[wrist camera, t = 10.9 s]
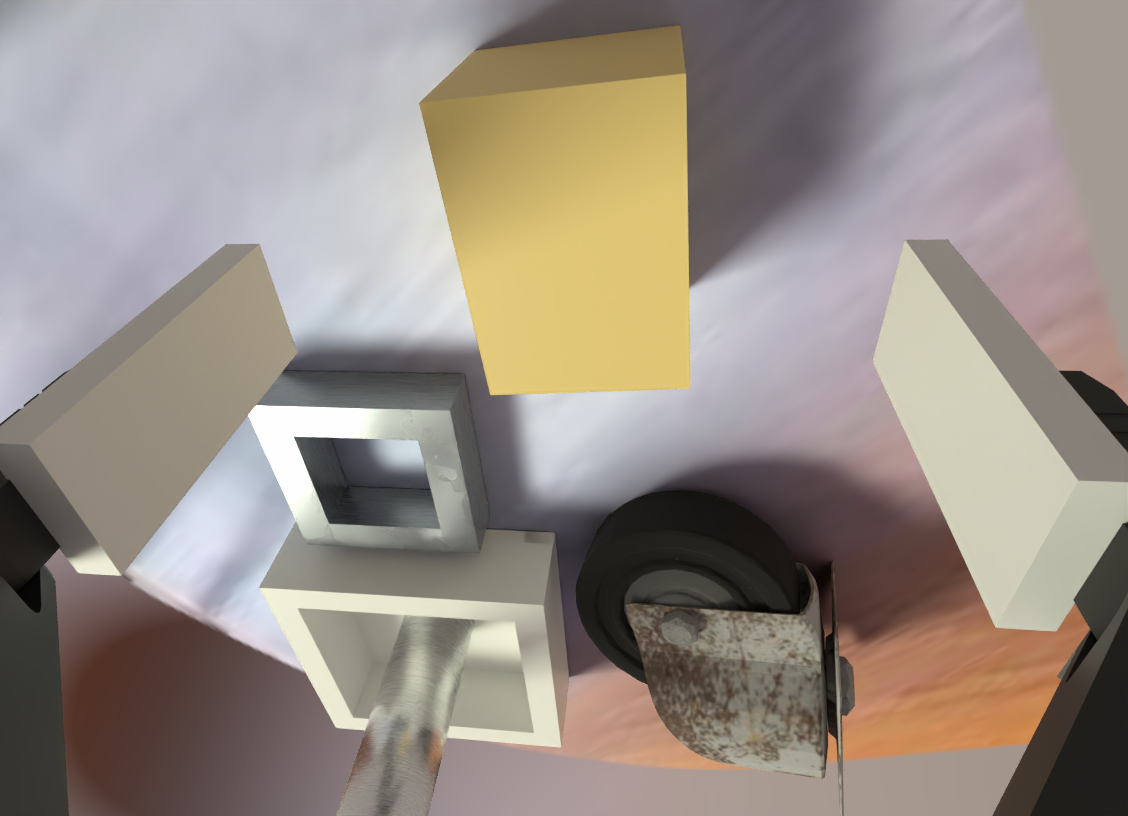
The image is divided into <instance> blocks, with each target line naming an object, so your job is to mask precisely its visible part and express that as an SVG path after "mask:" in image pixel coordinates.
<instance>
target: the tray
mask: <svg viewBox="0 0 1128 816" xmlns="http://www.w3.org/2000/svg"><path fill="white" fill-rule="evenodd" d="M259 589H260V591H261V592H262V594H263V596H264V598H265V600H266V601H267V603H268V605H269V607H270V609H271V611H272V612H273V614H274V616H275V618H276V620H277V621H278V623H279V625H280V627H281V629H282V630H283V632H284V634H285V636H286V638H287V640H288V641H289V643H290V645H291V647H292V649H293V650H294V652H295V654H296V656H297V658H298V659H299V661H300V663H301V665H302V667H303V669H304V670H305V672H306V674H307V676H308V678H309V679H310V681H311V683H312V685H313V687H314V688H315V690H316V692H317V694H318V696H319V697H320V699H321V701H322V703H323V705H324V706H325V708H326V710H327V712H328V714H329V715H330V717H331V719H332V721H333V723H334V725H335V726H336V728H345V729H357V730H365V729H366V726H367V723H368V720H369V717H370V714H371V712H372V709H373V706H374V703H375V700H376V697H377V694H378V691H379V688H380V685H381V682H382V679H383V676H384V673H385V670H386V667H387V665H388V662H389V659H390V656H391V653H392V650H393V647H394V644H395V641H396V638H397V635H398V632H399V629H400V626H401V623H402V621H403V618H404V615H412V616H427V617H442V618H458V619H473V620H475V624H474V628H473V632H472V636H471V640H470V644H469V648H468V652H467V657H466V661H465V665H464V669H463V673H462V677H461V681H460V685H459V690H458V694H457V698H456V702H455V706H454V710H453V714H452V718H451V722H450V727H449V731H448V735H447V737H448V738H460V739H470V740H482V741H493V742H504V743H516V744H527V745H539V746H550V747H562V738H563V729H564V720H565V711H566V702H567V693H568V684H569V671H568V661H567V651H566V640H565V630H564V620H563V610H562V599H561V589H560V579H559V569H558V559H557V548H556V538H555V533H554V532H534V531H513V530H492V529H486V532H485V536H484V539H483V543H482V547H481V551H480V554H477V553H458V552H439V551H420V550H401V549H382V548H363V547H344V546H325V545H307V544H306V542H305V540H304V537H303V535H302V533H301V531H300V528H299V526H298V524H297V522H296V523H295V524H294V526H293V528H292V530H291V531H290V533H289V535H288V537H287V539H286V540H285V542H284V544H283V546H282V547H281V549H280V551H279V553H278V555H277V556H276V558H275V560H274V562H273V564H272V565H271V567H270V569H269V571H268V572H267V574H266V576H265V578H264V580H263V581H262V583H261V585H260V587H259Z"/></svg>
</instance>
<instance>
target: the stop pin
mask: <svg viewBox="0 0 1128 816" xmlns="http://www.w3.org/2000/svg"><path fill="white" fill-rule="evenodd" d="M474 624H475V620H473V619H458V618H442V617H427V616H412V615H404V618H403V621H402V623H401V626H400V629H399V632H398V635H397V638H396V641H395V644H394V647H393V650H392V653H391V656H390V659H389V662H388V665H387V667H386V670H385V673H384V676H383V679H382V682H381V685H380V688H379V691H378V694H377V697H376V700H375V703H374V706H373V709H372V712H371V714H370V717H369V720H368V723H367V726H366V729H365V732H364V735H363V738H362V741H361V744H360V747H359V750H358V753H357V756H356V758H355V762H354V764H353V767H352V770H351V773H350V776H349V779H348V782H347V785H346V788H345V791H344V794H343V797H342V800H341V803H340V806H339V808H338V812H337V814H336V816H428V813H429V809H430V805H431V801H432V796H433V793H434V788H435V784H436V780H437V776H438V772H439V768H440V764H441V759H442V755H443V751H444V747H445V743H446V739H447V735H448V731H449V727H450V722H451V718H452V714H453V710H454V706H455V702H456V698H457V694H458V690H459V685H460V681H461V677H462V673H463V669H464V665H465V661H466V657H467V652H468V648H469V644H470V640H471V636H472V632H473V628H474Z"/></svg>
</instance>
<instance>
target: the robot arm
mask: <svg viewBox="0 0 1128 816" xmlns="http://www.w3.org/2000/svg"><path fill="white" fill-rule="evenodd" d="M296 354H297V350H296V347H295V345H294V342H293V339H292V336H291V333H290V330H289V327H288V324H287V322H286V319H285V316H284V313H283V310H282V307H281V304H280V302H279V299H278V296H277V293H276V290H275V287H274V284H273V282H272V279H271V276H270V273H269V270H268V267H267V264H266V261H265V259H264V256H263V253H262V250H261V247H260V244H226V245H225V246H223V247H222V248H221V249H220V250H218V251H217V252H216V253H215V254H213V255H212V256H211V257H210V258H208V259H207V260H206V261H205V262H204V263H202V264H201V265H200V266H199V267H197V268H196V269H195V270H194V271H192V272H191V273H190V274H189V275H187V276H186V277H185V278H184V279H182V280H181V281H180V282H179V283H177V284H176V285H175V286H174V287H172V288H171V289H170V290H169V291H167V292H166V293H165V294H164V295H163V296H161V297H160V298H159V299H158V300H156V301H155V302H154V303H153V304H151V305H150V306H149V307H148V308H146V309H145V310H144V311H143V312H141V313H140V314H139V315H138V316H136V317H135V318H134V319H133V320H131V321H130V322H129V323H128V324H127V325H125V326H124V327H123V328H122V329H120V330H119V331H118V332H117V333H115V334H114V335H113V336H112V337H110V338H109V339H108V340H107V341H105V342H104V343H103V344H102V345H100V346H99V347H98V348H97V349H95V350H94V351H93V352H92V353H90V354H89V355H88V356H87V357H86V358H84V359H83V360H82V361H81V362H79V363H78V364H77V365H76V366H74V367H73V368H72V369H70V370H68V371H67V372H65V373H63V374H62V375H61V376H59V377H58V378H57V379H56V380H55V381H53V382H52V383H51V384H50V385H48V386H47V387H46V388H45V389H43V390H42V393H41V394H37V395H36V396H35V397H33V398H32V399H31V400H30V401H28V402H27V403H26V404H25V405H24V407H23V408H22V409H18V410H17V411H16V412H15V413H13V414H12V415H11V416H10V417H8V418H7V419H6V420H5V421H3V422H2V423H1V424H0V816H69V811H68V796H67V795H68V793H67V777H66V759H65V743H64V724H63V709H62V691H61V673H60V656H59V639H58V621H57V605H56V604H57V603H56V586H55V580H54V578H53V576H52V574H51V573H50V571H49V570H48V568H47V567H46V566H45V565H44V564H45V563H46V562H47V561H48V560H49V559H50V557H51V556H52V555H53V554H54V553H55V552H56V551H57V550H58V549H59V548H60V549H61V551H62V552H63V553H64V555H65V556H66V557H67V559H68V560H69V561H70V563H71V564H72V565H73V567H74V568H75V569H76V571H77V572H78V573H88V574H104V575H120V576H121V575H122V574H123V573H124V572H125V570H126V569H127V568H128V567H129V565H130V564H131V563H132V562H133V560H134V559H135V558H136V557H137V555H138V554H139V553H140V551H141V550H142V549H143V548H144V546H145V545H146V544H147V543H148V541H149V540H150V539H151V538H152V536H153V535H154V534H155V532H156V531H157V530H158V529H159V527H160V526H161V525H162V524H163V522H164V521H165V520H166V519H167V517H168V516H169V515H170V513H171V512H172V511H173V510H174V508H175V507H176V506H177V505H178V503H179V502H180V501H181V500H182V498H183V497H184V496H185V494H186V493H187V492H188V491H189V489H190V488H191V487H192V486H193V484H194V483H195V482H196V481H197V479H198V478H199V477H200V476H201V474H202V473H203V472H204V470H205V469H206V468H207V467H208V465H209V464H210V463H211V462H212V460H213V459H214V458H215V457H216V455H217V454H218V453H219V451H220V450H221V449H222V448H223V446H224V445H225V444H226V443H227V441H228V440H229V439H230V438H231V436H232V435H233V434H234V432H235V431H236V430H237V429H238V427H239V426H240V425H241V424H242V422H243V421H244V420H245V419H246V417H247V416H248V415H249V414H250V412H251V411H252V410H253V408H254V407H255V406H256V405H257V403H258V402H259V401H260V400H261V398H262V397H263V396H264V395H265V393H266V392H267V391H268V389H269V388H270V387H271V386H272V384H273V383H274V382H275V381H276V379H277V378H278V377H279V376H280V374H281V373H282V372H283V370H284V369H285V368H286V367H287V365H288V364H289V363H290V362H291V360H292V359H293V358H294V357H295V355H296ZM873 363H874V365H875V368H876V370H877V372H878V374H879V376H880V378H881V381H882V383H883V385H884V387H885V389H886V391H887V394H888V396H889V398H890V400H891V402H892V404H893V407H894V409H895V411H896V413H897V415H898V417H899V420H900V422H901V424H902V426H903V428H904V430H905V433H906V435H907V437H908V439H909V441H910V443H911V446H912V448H913V450H914V452H915V454H916V456H917V458H918V461H919V463H920V465H921V467H922V469H923V471H924V474H925V476H926V478H927V480H928V482H929V484H930V487H931V489H932V491H933V493H934V495H935V497H936V500H937V502H938V504H939V506H940V508H941V510H942V513H943V515H944V517H945V519H946V521H947V523H948V526H949V528H950V530H951V532H952V534H953V536H954V539H955V541H956V543H957V545H958V547H959V549H960V552H961V554H962V556H963V558H964V560H965V562H966V565H967V567H968V569H969V571H970V573H971V575H972V578H973V580H974V582H975V584H976V586H977V588H978V591H979V593H980V595H981V597H982V599H983V601H984V604H985V606H986V608H987V610H988V612H989V614H990V617H991V619H992V621H993V623H994V625H995V627H996V628H1009V629H1026V630H1042V631H1057V629H1058V628H1059V626H1060V625H1061V623H1062V622H1063V620H1064V619H1065V617H1066V616H1067V614H1068V613H1069V611H1070V610H1071V608H1072V606H1073V605H1074V603H1075V604H1076V605H1077V607H1078V609H1079V610H1080V612H1081V614H1082V616H1083V617H1084V619H1085V621H1086V622H1087V624H1088V626H1089V627H1090V630H1089V632H1088V633H1087V635H1086V636H1085V638H1084V639H1083V640H1082V642H1081V643H1080V645H1079V646H1078V647H1077V649H1076V650H1075V652H1074V653H1073V655H1072V656H1071V657H1070V659H1069V660H1068V662H1067V663H1066V664H1065V666H1064V667H1063V669H1062V670H1061V672H1060V673H1059V674H1058V676H1057V677H1059V678H1060V679H1062V680H1061V682H1060V684H1059V686H1058V688H1057V690H1056V692H1055V694H1054V696H1053V698H1052V700H1051V702H1050V704H1049V706H1048V708H1047V710H1046V712H1045V714H1044V715H1043V717H1042V719H1041V721H1040V723H1039V725H1038V727H1037V729H1036V731H1035V733H1034V735H1033V737H1032V739H1031V741H1030V743H1029V745H1028V747H1027V749H1026V751H1025V753H1024V755H1023V757H1022V759H1021V761H1020V763H1019V765H1018V767H1017V769H1016V770H1015V773H1014V775H1013V776H1012V779H1011V780H1010V782H1009V784H1008V786H1007V788H1006V790H1005V792H1004V794H1003V796H1002V798H1001V800H1000V802H999V804H998V806H997V808H996V810H995V812H994V814H993V816H1128V406H1127V405H1126V404H1125V403H1124V401H1123V400H1122V399H1121V398H1120V397H1119V396H1118V395H1117V394H1116V393H1115V392H1114V391H1113V390H1111V389H1110V388H1108V387H1107V386H1105V385H1103V384H1102V383H1100V382H1098V381H1097V380H1095V379H1093V378H1092V377H1090V376H1088V375H1087V374H1085V373H1084V372H1082V371H1058V370H1057V368H1056V367H1055V366H1054V365H1053V364H1052V362H1051V361H1050V360H1049V359H1048V358H1047V357H1046V355H1045V354H1044V353H1043V352H1042V351H1041V349H1040V348H1039V347H1038V346H1037V345H1036V344H1035V342H1034V341H1033V340H1032V339H1031V338H1030V336H1029V335H1028V334H1027V333H1026V332H1025V331H1024V329H1023V328H1022V327H1021V326H1020V325H1019V323H1018V322H1017V321H1016V320H1015V319H1014V317H1013V316H1012V315H1011V314H1010V313H1009V312H1008V310H1007V309H1006V308H1005V307H1004V306H1003V304H1002V303H1001V302H1000V301H999V300H998V299H997V297H996V296H995V295H994V294H993V293H992V291H991V290H990V289H989V288H988V287H987V286H986V284H985V283H984V282H983V281H982V280H981V278H980V277H979V276H978V275H977V274H976V273H975V271H974V270H973V269H972V268H971V267H970V265H969V264H968V263H967V262H966V261H965V259H964V258H963V257H962V256H961V255H960V254H959V252H958V251H957V250H956V249H955V248H954V246H953V245H952V244H951V243H950V242H949V241H948V240H905V242H904V246H903V250H902V253H901V257H900V261H899V265H898V268H897V272H896V276H895V279H894V283H893V287H892V291H891V294H890V298H889V302H888V306H887V309H886V313H885V317H884V321H883V324H882V328H881V332H880V336H879V339H878V343H877V347H876V351H875V354H874V358H873Z"/></svg>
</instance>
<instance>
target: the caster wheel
mask: <svg viewBox="0 0 1128 816" xmlns="http://www.w3.org/2000/svg"><path fill="white" fill-rule="evenodd" d="M831 590H832V633H831V634H829V635H828V636H827V637H826V641H825V639H824V630H823V625H822V620H821V611H820V602H819V593H818V587H817V584H816V581H815V579H814V577H813V576H812V574H811V573H810V571H809V570H808V568H807V567H806V565H805V564H803V563H800V562H795V561H794V559H793V557H792V554H791V553H790V551H789V550H788V548H787V546H786V545H785V543H784V542H783V541H782V539H781V538H780V537H779V536H778V535H777V534H776V533H775V532H774V531H773V530H772V528H771V527H770V526H769V525H767V524H766V523H765V522H763V521H762V520H761V519H759V518H758V517H757V516H755V515H754V514H753V513H751V512H749V511H747V510H746V509H744V508H742V507H740V506H739V505H737V504H735V503H732V502H729V501H726V500H724V499H721V498H718V497H715V496H711V495H707V494H702V493H696V492H684V491H671V492H660V493H653V494H650V495H646V496H643V497H640V498H636V499H634V500H632V501H630V502H628V503H626V504H624V505H622V506H621V507H619V508H618V509H617V510H615V511H614V512H613V513H612V514H610V515H609V516H608V518H607V519H606V520H605V521H604V523H603V524H602V525H601V527H600V528H599V529H598V531H597V533H596V536H595V538H594V540H593V542H592V544H591V547H590V549H589V551H588V554H587V556H586V559H585V561H584V564H583V566H582V568H581V571H580V574H579V577H578V580H577V584H576V602H577V608H578V611H579V615H580V618H581V622H582V624H583V626H584V628H585V630H586V632H587V633H588V635H589V637H590V638H591V639H592V641H593V642H594V643H595V645H596V646H597V647H598V648H599V650H600V651H601V652H602V653H603V654H604V655H605V656H606V657H607V658H608V659H609V660H610V661H611V662H613V663H614V664H615V665H616V666H617V667H618V668H620V669H621V670H623V671H625V672H626V673H628V674H629V675H631V676H632V677H634V678H636V679H637V680H639V681H641V682H643V683H645V684H647V685H648V688H649V691H650V694H651V697H652V700H653V703H654V705H655V708H656V710H657V712H658V715H659V716H660V718H661V720H662V721H663V723H664V724H665V726H666V727H667V729H668V730H669V731H670V732H671V733H672V734H673V735H674V736H675V737H676V738H677V739H678V740H679V741H680V742H681V743H683V744H684V745H685V746H686V747H687V748H689V749H690V750H692V751H694V752H696V753H697V754H699V755H701V756H703V757H705V758H708V759H711V760H713V761H716V762H720V763H724V764H729V765H735V766H741V767H748V768H754V769H761V770H768V771H774V772H781V773H788V774H794V775H801V776H808V777H814V778H821V779H822V778H824V777H825V770H826V760H827V749H828V729H829V733H830V734H831V735H832V736H834V737H835V738H836V740H837V761H838V782H839V802H840V816H844V808H843V748H842V715H845V716H847V715H848V714H849V712H850V711H851V710H852V708H853V707H854V706H855V693H854V674H853V667H852V666H851V664H850V663H849V662H848V660H847V659H846V658H845V657H842V656H839V642H838V624H837V607H836V589H835V572H834V564H833V561H832V563H831ZM827 719H828V725H827Z"/></svg>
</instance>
